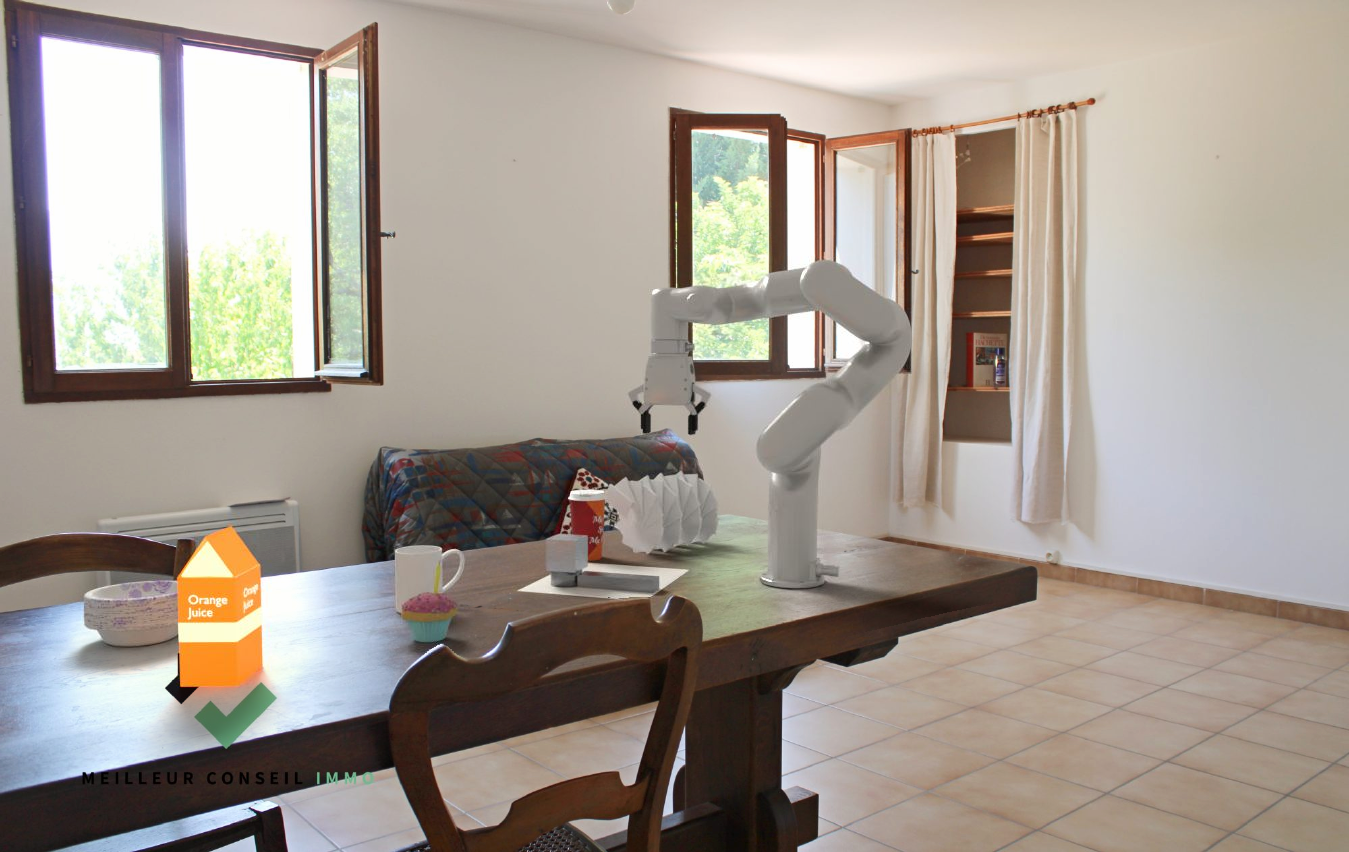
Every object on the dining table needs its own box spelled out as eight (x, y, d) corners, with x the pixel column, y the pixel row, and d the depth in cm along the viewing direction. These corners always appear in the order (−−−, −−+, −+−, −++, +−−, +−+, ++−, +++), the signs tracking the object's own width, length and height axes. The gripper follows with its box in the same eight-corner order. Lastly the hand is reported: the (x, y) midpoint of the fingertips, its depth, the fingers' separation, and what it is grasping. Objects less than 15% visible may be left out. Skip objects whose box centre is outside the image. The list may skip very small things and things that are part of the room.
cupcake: (435, 628, 161) (434, 554, 160) (469, 637, 156) (468, 561, 155) (390, 639, 154) (388, 562, 154) (423, 649, 149) (422, 570, 148)
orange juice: (263, 666, 141) (260, 525, 140) (238, 686, 132) (234, 536, 131) (207, 666, 141) (203, 525, 139) (178, 686, 132) (174, 536, 131)
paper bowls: (180, 621, 165) (179, 573, 164) (209, 640, 154) (208, 589, 153) (74, 637, 155) (73, 587, 154) (97, 659, 144) (95, 605, 143)
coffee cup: (604, 564, 212) (604, 494, 211) (566, 564, 212) (565, 494, 211) (608, 556, 220) (608, 489, 219) (571, 556, 220) (570, 488, 219)
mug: (404, 617, 168) (403, 555, 167) (389, 607, 174) (388, 548, 173) (473, 607, 174) (472, 548, 174) (455, 598, 181) (455, 541, 180)
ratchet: (545, 586, 188) (545, 549, 188) (558, 579, 194) (558, 544, 194) (651, 594, 182) (651, 556, 182) (661, 587, 188) (661, 550, 187)
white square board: (689, 572, 204) (689, 569, 204) (644, 604, 177) (644, 601, 177) (576, 564, 211) (576, 561, 211) (516, 594, 185) (516, 590, 185)
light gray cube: (587, 566, 192) (587, 535, 192) (575, 572, 186) (575, 540, 186) (559, 564, 194) (558, 533, 194) (546, 570, 188) (545, 539, 188)
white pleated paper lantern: (713, 561, 236) (639, 572, 217) (664, 521, 246) (590, 529, 228) (742, 495, 230) (669, 500, 211) (691, 457, 240) (617, 459, 222)
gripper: (715, 349, 203) (714, 433, 204) (635, 349, 208) (635, 431, 210) (705, 349, 196) (705, 436, 197) (622, 349, 201) (622, 434, 202)
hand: (669, 433), depth 203 cm, fingers open, 9 cm apart
